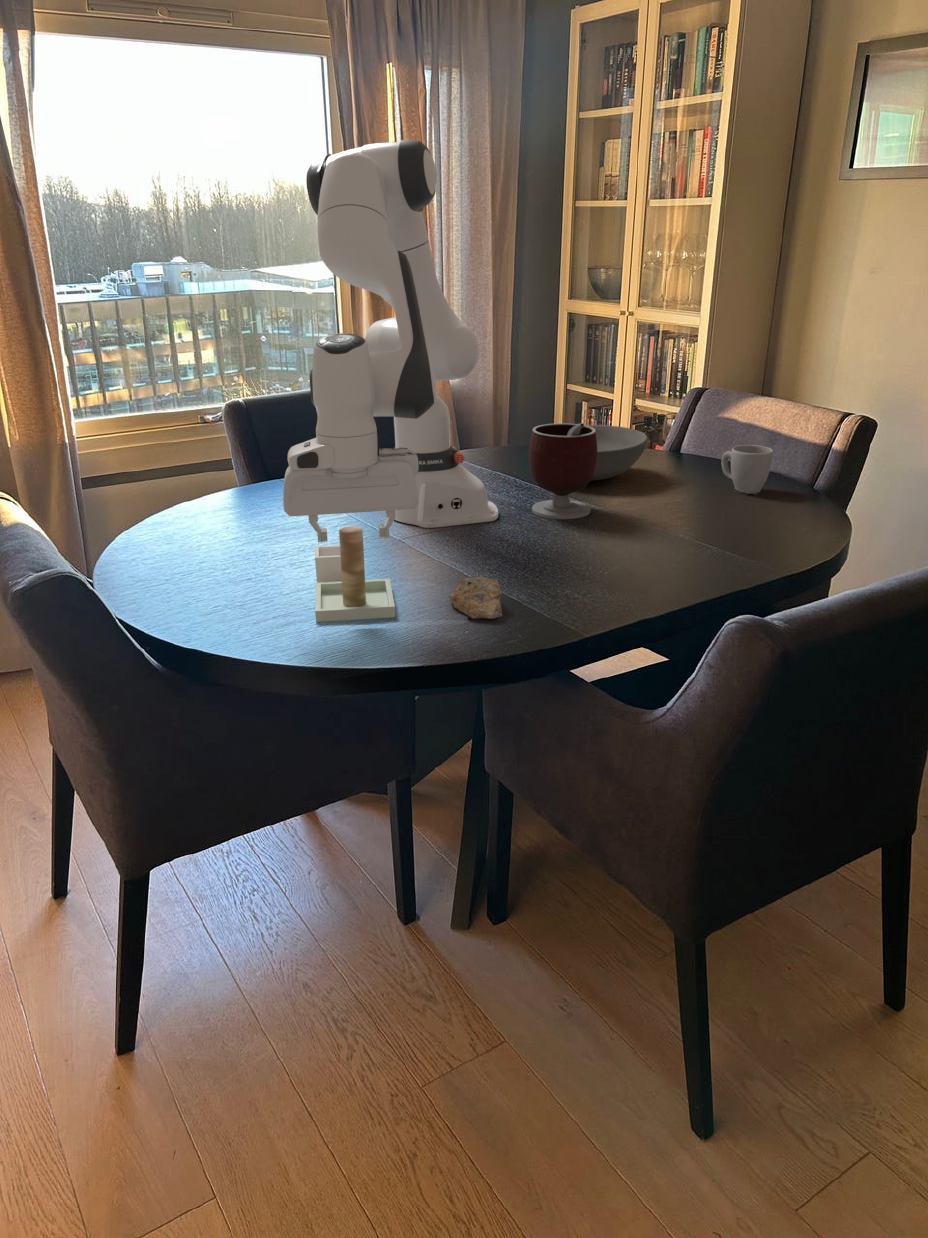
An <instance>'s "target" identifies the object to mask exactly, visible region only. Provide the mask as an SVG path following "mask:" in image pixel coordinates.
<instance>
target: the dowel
mask: <svg viewBox="0 0 928 1238" xmlns="http://www.w3.org/2000/svg"><path fill="white" fill-rule="evenodd" d="M363 531H364V530H363V528H362V527H359V526H346V527H342V528H339V530H338V536H339V545H340V557H341V575H342V592H343V604H344V605H345V606H347V607H360V606H363V605H365V604H366V591H365V580H366V574H365V573H366V572H365V570H366V569H365V552H364V548H365V547H364V532H363Z"/></svg>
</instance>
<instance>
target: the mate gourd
mask: <svg viewBox="0 0 928 1238" xmlns="http://www.w3.org/2000/svg"><path fill="white" fill-rule="evenodd" d="M586 425H587V424H584V423H583V422H581V423H566V422H565V423H564V422H563V423H562V422H561V423H546V424H540V425H537V426H534V427H533V428H532V433H531V436H530V441H529V442H530V443H529V450H528V452H529V453H528V454H529V456H528V458H529V459H528V460H529V461H528V462H529V468H530V473H531V477H532V478H533V481H534V482H535V483H536V485H537V486H538V487H539V488H540V489H542V490H545V491H547V492H550V493H552V494H554V495H555V496H554V497H553V499H547V500H542V501H539V502H538V501H537V502H536V503H534V504H532V507H531V512H532V513H533V514H534V515H535V516H539V517H541V518H545V519H551V520H552V519H553V520H573V519H579V518H584V517H587V516H588V515H589V514H590V513H591V507H590V506H589V505H588V504H586V503H584V502H581V501H577V500H571V499H570V498H569V495H571V494H573V493H575V492H578V491H581V490H584V489H585V488H586V487H587V486H588V484H589V483H590V482H591V481H592V480H591V479H592V478H593V475H594V471H595V466H596V461H597V439H596V433H595V432H596V430H595V429H594V428H592V427H590V426H586ZM590 480H591V481H590Z"/></svg>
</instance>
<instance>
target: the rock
mask: <svg viewBox="0 0 928 1238" xmlns="http://www.w3.org/2000/svg"><path fill="white" fill-rule="evenodd" d="M502 593H503V591H502V587H501V586H500V584H499V581H498V578H489V577H487V576H485V577H484V576H471V577H470V576H469V577H463V578H462V579H461V581H460V583H458V586H457V587H456V588H455V589H454V590H453V591H452V593H450V595H449V601H450V603H451V605H453V608H454V609H456V610H459V612H462V614H465V615H467V617H470V618H472V619H475V620H476V619H489V620H492V619H496V618H501V617H503V613H502V610H503V609H502V604H501V597H502V595H503V594H502Z"/></svg>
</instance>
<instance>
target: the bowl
mask: <svg viewBox="0 0 928 1238" xmlns="http://www.w3.org/2000/svg"><path fill="white" fill-rule="evenodd" d="M585 425H586V426H590V427H592V428H594V429H595V430H596V432H595V433H596V439H597V461H596V466H595V471H594V475H593V478H592V479H591V480H590V482H591V481H601V480H606V479H607V480H608V479H611V478H614V477H617V476H619V475H621V474H622V473H625V472H626V471H627V470H629V469H630V468H631V467H632V466H634V464H636V462H637V461H638V460H639V459H640V457H641V456H642V454H643V453H644V450H646V447H647V444H648V440H649V439H648V436H647V434H645V433H644V432H642V431H640V430H637V429H633V428H628V427H624V426H616V425H606V424H605V425H604V424H603V425H602V424H585Z"/></svg>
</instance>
